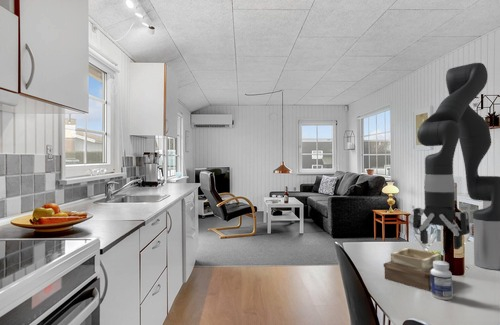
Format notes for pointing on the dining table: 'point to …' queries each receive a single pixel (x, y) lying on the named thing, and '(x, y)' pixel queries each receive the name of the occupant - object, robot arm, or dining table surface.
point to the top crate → (414, 259)
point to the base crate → (408, 276)
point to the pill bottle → (441, 281)
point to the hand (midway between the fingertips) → (440, 246)
